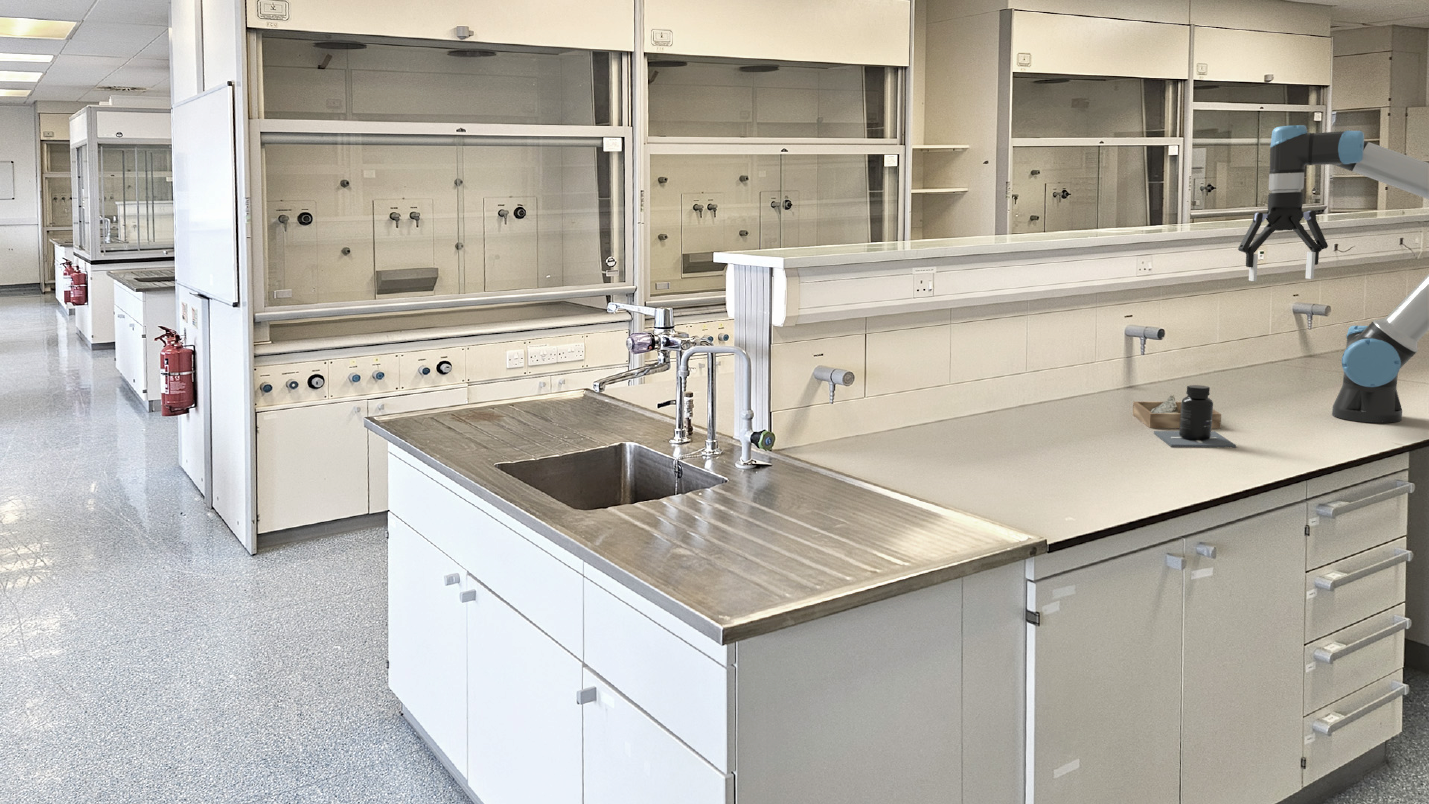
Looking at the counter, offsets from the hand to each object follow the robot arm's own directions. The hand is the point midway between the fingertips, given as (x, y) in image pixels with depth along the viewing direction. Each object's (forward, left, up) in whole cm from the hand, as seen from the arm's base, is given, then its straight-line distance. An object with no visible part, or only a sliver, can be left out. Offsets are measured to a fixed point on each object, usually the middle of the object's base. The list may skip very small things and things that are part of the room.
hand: (1281, 279), depth 269 cm
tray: (+24, +3, -35) cm, 42 cm away
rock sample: (+26, +1, -35) cm, 44 cm away
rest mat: (+26, +24, -35) cm, 49 cm away
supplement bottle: (+25, +24, -34) cm, 49 cm away
